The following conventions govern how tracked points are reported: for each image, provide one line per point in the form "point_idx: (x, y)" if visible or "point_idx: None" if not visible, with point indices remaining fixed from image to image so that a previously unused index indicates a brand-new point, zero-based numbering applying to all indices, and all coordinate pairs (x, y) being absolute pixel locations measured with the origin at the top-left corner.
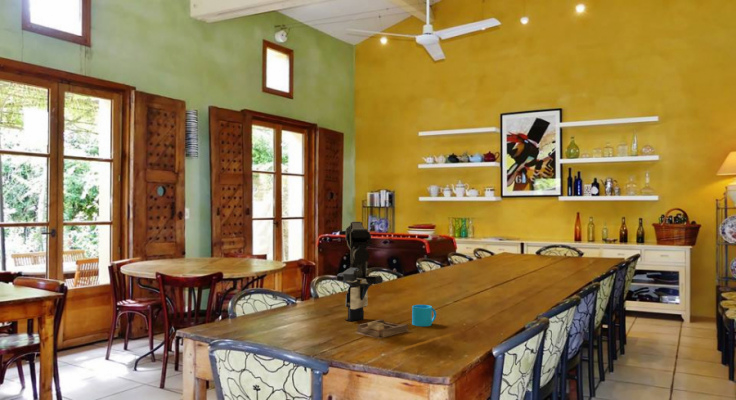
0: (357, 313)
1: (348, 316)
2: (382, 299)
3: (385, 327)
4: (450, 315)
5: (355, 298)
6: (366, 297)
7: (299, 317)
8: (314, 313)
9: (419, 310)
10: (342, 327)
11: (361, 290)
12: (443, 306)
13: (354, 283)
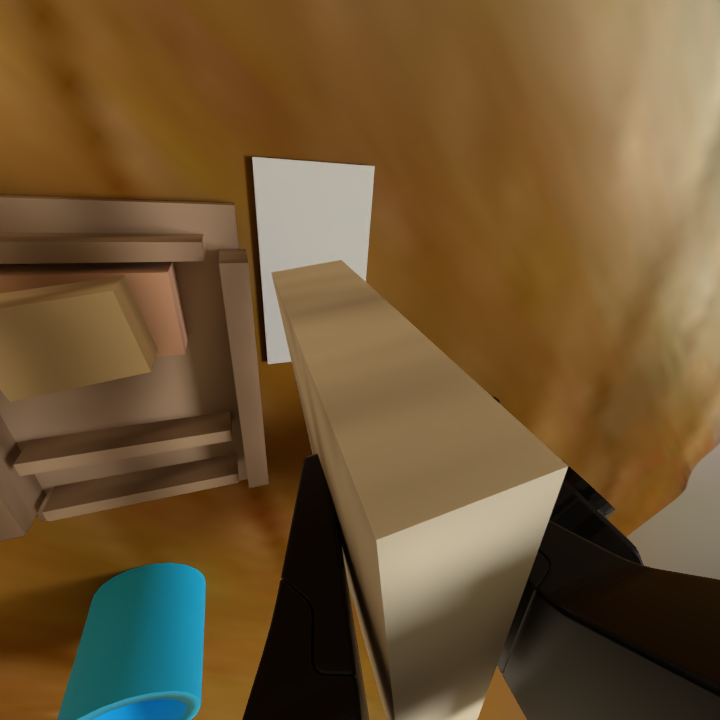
0: None
1: None
2: None
3: (154, 432)
4: (233, 695)
5: (302, 365)
6: None
7: (692, 281)
8: (650, 374)
9: (87, 695)
10: (432, 295)
11: (310, 618)
12: None
13: (626, 718)
